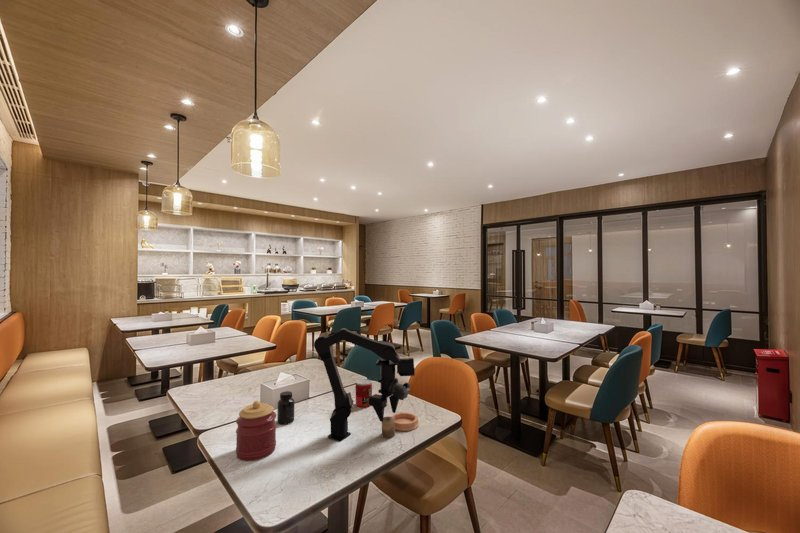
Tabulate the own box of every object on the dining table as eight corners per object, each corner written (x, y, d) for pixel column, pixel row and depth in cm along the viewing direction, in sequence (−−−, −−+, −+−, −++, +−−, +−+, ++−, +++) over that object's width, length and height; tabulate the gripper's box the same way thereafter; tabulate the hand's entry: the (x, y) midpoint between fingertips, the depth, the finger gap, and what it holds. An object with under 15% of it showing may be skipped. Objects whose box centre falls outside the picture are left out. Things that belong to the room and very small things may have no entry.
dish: (410, 433, 130) (410, 426, 130) (384, 426, 136) (384, 420, 136) (423, 421, 140) (423, 415, 141) (398, 416, 146) (398, 410, 146)
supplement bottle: (273, 423, 140) (273, 394, 140) (286, 417, 146) (286, 389, 146) (285, 426, 137) (285, 396, 137) (297, 420, 143) (298, 391, 143)
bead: (390, 439, 126) (390, 423, 126) (379, 436, 128) (379, 420, 128) (397, 433, 130) (397, 418, 130) (386, 430, 133) (386, 415, 133)
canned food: (364, 409, 154) (364, 385, 154) (352, 405, 159) (352, 382, 159) (375, 404, 160) (375, 381, 160) (363, 400, 165) (363, 378, 165)
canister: (264, 439, 126) (264, 391, 127) (283, 450, 118) (283, 399, 119) (228, 453, 116) (229, 402, 117) (246, 466, 108) (247, 411, 109)
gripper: (393, 386, 118) (393, 431, 117) (417, 373, 134) (417, 412, 133) (367, 381, 123) (367, 424, 123) (393, 369, 139) (393, 407, 139)
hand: (387, 416), depth 129 cm, fingers open, 9 cm apart
